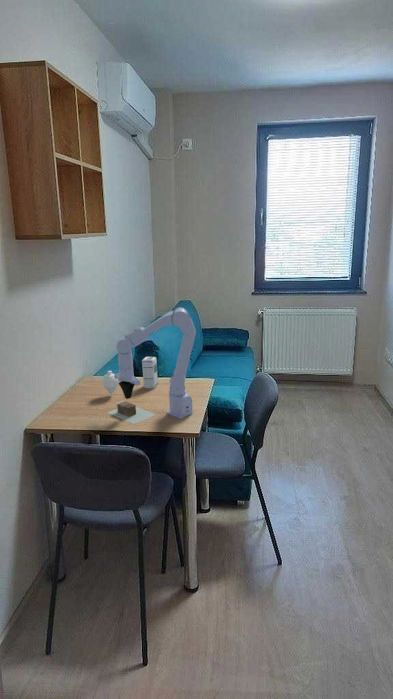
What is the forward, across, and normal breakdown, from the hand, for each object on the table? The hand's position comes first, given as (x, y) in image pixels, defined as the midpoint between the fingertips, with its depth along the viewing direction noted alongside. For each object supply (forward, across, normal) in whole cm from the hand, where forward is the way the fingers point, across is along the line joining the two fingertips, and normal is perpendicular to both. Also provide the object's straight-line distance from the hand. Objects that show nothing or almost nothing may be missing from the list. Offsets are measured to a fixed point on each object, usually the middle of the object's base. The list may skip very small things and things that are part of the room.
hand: (128, 398), depth 188 cm
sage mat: (+8, 0, +1) cm, 8 cm away
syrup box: (+8, -20, +29) cm, 36 cm away
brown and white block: (+5, +2, 0) cm, 6 cm away
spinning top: (+8, -25, +9) cm, 28 cm away
